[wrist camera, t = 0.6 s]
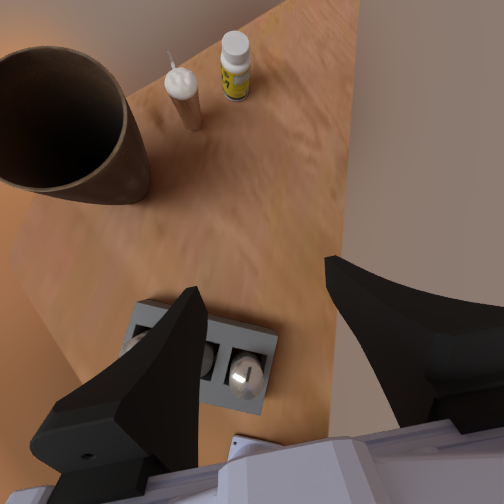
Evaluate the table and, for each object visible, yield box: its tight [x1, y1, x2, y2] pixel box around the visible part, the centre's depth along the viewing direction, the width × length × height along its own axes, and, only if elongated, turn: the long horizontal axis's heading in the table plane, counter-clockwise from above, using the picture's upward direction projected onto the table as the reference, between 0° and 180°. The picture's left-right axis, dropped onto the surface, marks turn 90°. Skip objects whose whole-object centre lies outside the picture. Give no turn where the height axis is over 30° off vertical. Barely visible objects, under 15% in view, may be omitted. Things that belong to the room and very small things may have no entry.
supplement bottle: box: [221, 31, 251, 102], centre depth 36 cm, size 5×5×8 cm
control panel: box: [123, 299, 278, 415], centre depth 33 cm, size 11×21×4 cm, turn 76°
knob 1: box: [119, 329, 151, 358], centre depth 29 cm, size 4×4×4 cm
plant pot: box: [0, 46, 150, 205], centre depth 29 cm, size 15×15×16 cm
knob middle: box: [200, 341, 216, 377], centre depth 32 cm, size 4×4×4 cm
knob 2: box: [229, 351, 264, 400], centre depth 30 cm, size 4×4×4 cm
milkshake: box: [165, 51, 202, 131], centre depth 34 cm, size 4×5×10 cm
